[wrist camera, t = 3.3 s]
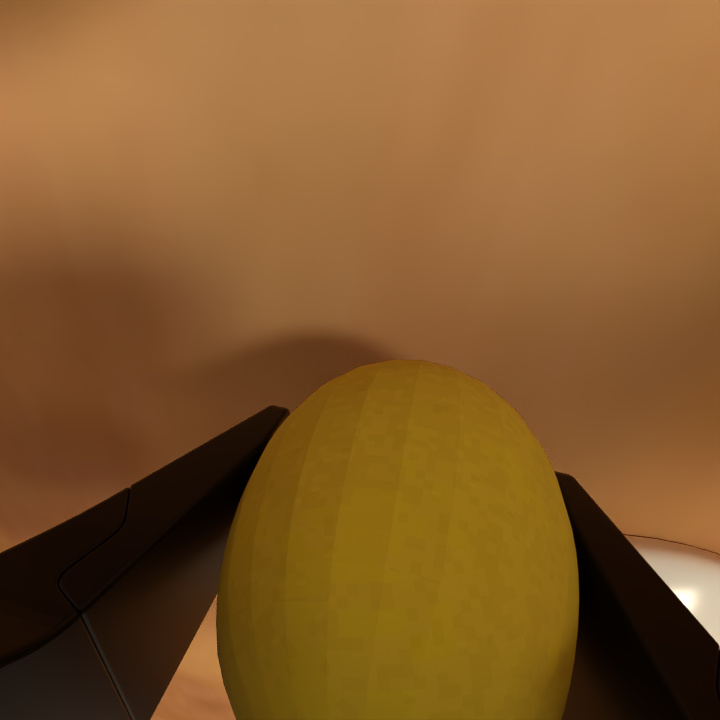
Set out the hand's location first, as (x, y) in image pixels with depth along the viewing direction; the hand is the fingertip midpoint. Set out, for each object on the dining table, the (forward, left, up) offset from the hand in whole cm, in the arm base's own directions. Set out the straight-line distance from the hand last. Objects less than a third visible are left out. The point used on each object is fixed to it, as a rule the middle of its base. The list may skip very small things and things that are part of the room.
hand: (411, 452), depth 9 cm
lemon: (0, 0, -2) cm, 2 cm away
